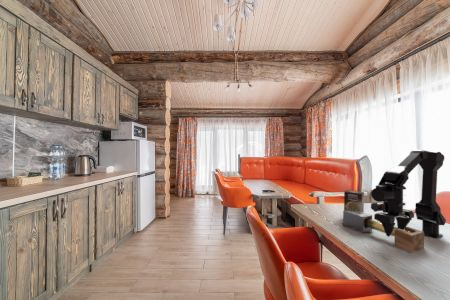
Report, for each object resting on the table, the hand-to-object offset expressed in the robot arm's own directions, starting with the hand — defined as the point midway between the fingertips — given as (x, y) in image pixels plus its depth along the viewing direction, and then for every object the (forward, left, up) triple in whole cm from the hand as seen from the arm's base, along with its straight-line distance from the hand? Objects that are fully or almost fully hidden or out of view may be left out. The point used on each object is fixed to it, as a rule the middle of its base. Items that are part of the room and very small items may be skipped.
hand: (394, 234), depth 92 cm
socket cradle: (0, +6, -3) cm, 6 cm away
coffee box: (-11, -26, -4) cm, 29 cm away
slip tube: (0, -4, -1) cm, 4 cm away
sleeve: (0, -16, -3) cm, 17 cm away
